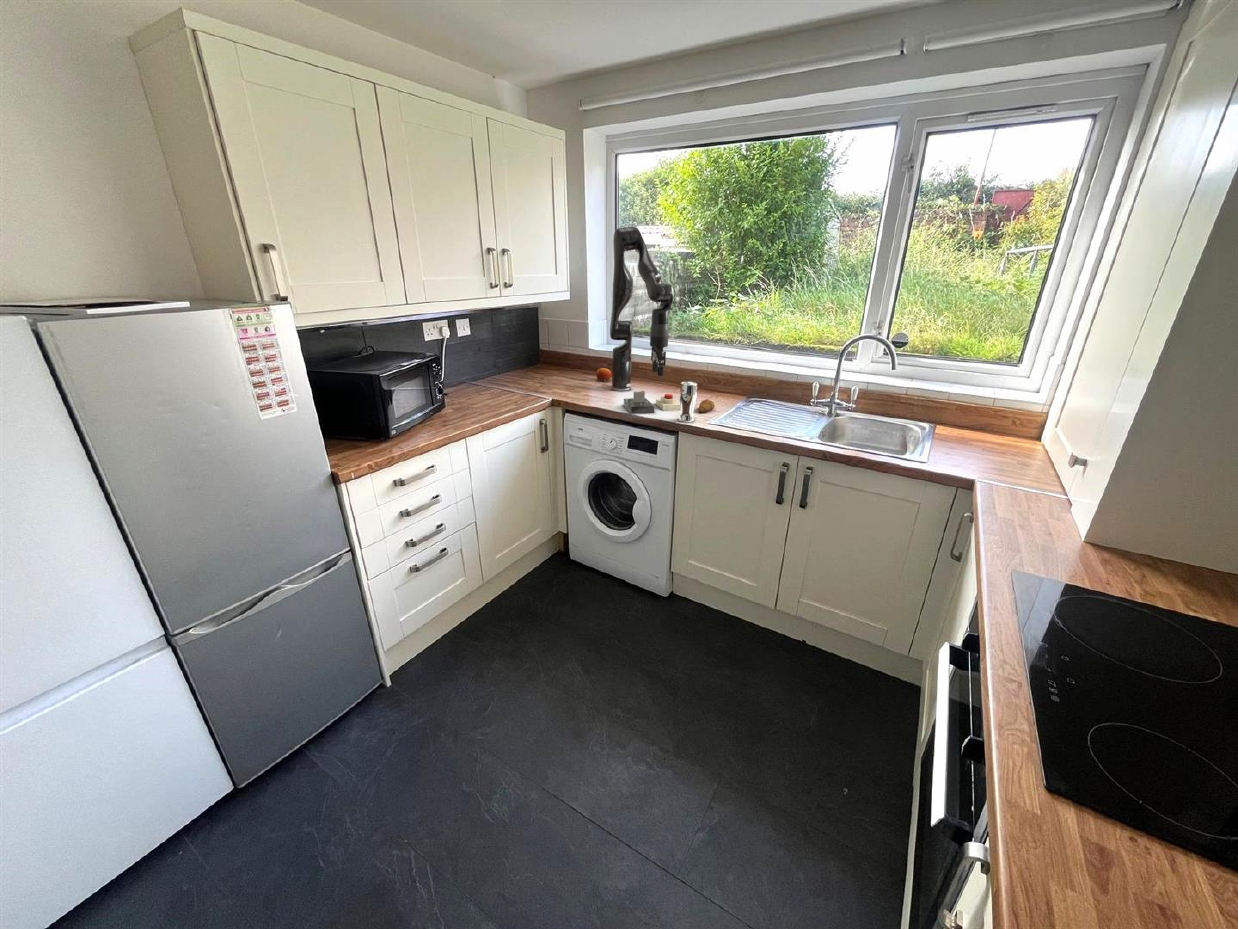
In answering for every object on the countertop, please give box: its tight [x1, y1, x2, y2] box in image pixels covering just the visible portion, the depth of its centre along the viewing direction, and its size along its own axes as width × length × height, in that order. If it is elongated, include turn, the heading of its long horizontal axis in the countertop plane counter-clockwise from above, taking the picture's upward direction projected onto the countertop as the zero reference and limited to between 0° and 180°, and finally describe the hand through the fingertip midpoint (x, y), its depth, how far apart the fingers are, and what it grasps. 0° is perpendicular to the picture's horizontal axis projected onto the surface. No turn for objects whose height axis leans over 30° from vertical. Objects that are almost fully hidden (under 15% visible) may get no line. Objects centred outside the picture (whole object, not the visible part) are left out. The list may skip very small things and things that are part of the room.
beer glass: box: [678, 381, 698, 423], centre depth 198 cm, size 7×7×15 cm
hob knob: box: [632, 390, 646, 403], centre depth 213 cm, size 5×1×5 cm, turn 103°
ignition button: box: [663, 393, 674, 399], centre depth 218 cm, size 4×4×2 cm
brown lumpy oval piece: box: [698, 398, 716, 414], centre depth 215 cm, size 14×7×5 cm, turn 151°
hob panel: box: [623, 397, 655, 415], centre depth 214 cm, size 14×10×3 cm
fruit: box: [595, 367, 612, 383], centre depth 265 cm, size 8×8×8 cm
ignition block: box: [655, 395, 680, 411], centre depth 219 cm, size 11×8×4 cm
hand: (657, 373), depth 212 cm, fingers open, 8 cm apart
